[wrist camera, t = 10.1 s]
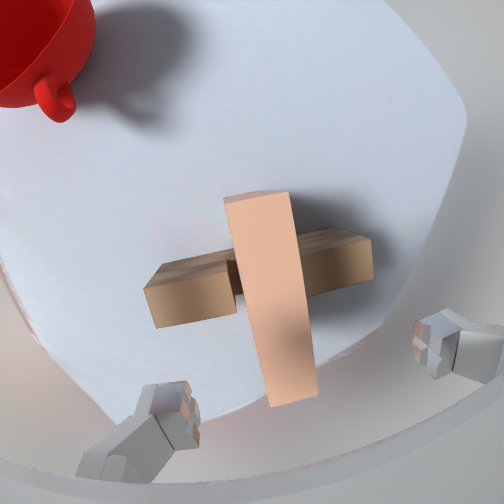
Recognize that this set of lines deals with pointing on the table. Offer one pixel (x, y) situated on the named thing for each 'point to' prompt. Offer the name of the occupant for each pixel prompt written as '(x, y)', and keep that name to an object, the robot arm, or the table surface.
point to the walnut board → (229, 283)
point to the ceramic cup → (43, 53)
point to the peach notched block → (274, 292)
